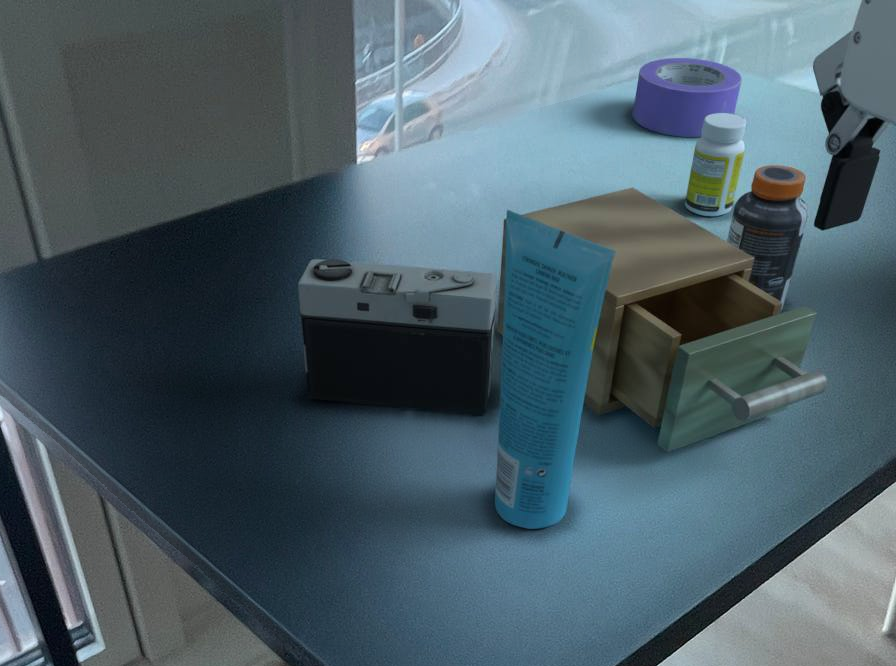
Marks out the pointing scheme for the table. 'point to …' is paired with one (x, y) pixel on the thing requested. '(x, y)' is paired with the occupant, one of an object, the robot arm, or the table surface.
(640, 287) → the cabinet
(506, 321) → the tube
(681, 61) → the tape roll
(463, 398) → the camera
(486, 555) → the table surface
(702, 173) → the supplement bottle
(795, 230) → the pill bottle
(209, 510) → the table surface
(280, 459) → the table surface
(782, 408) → the drawer
